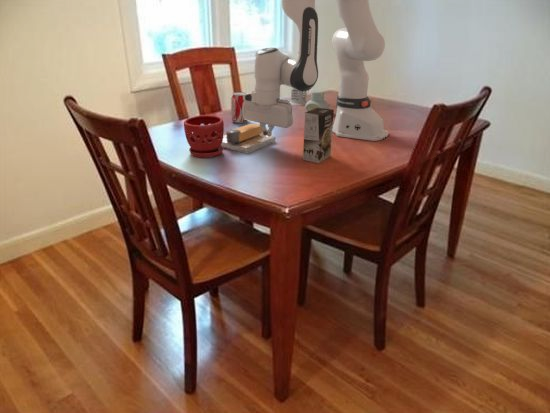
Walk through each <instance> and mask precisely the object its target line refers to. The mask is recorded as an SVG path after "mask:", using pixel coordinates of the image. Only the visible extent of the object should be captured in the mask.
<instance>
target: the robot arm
mask: <svg viewBox="0 0 550 413" xmlns="http://www.w3.org/2000/svg"><path fill="white" fill-rule="evenodd" d="M335 3H336V9H337V14H338V16H339V18H340V19H341V20H342V23H343V24H344V27H342V28H339V29H337V30H336V31H335V32H334V33H333V35H332V38H331V46H332V49H333V51H334V52H335V56H336V60H337V64H338V65H337V66H338V71H339V72H338V73H339V74H338V75H339V76H338V77H339V78H338V79H339V81H338V82H339V83H338V84H339V85H338V94H337V96H336V97H337V98H336V107H335V108H336V113H335V118H334V120H333V128H332V133H333V134H335V135H336V136H337V137H343V138H349V139H357V140H361V141H363V140H364V141H370V142H371V141H372V142H376V141H381V140H383V138H384V139H386V138H387V137H388V136H389V131H388V130H385V129H384V120H383V118H382V117H381V116H380V115H379V114H378V113H377V112H376V111H375V110H374V109H373V108H372V107H371V104H372V103H373V100H374V99H373V98H371V99H370V98H369V97H368V88H369V78H370V77H369V74H368V72H367V70H366V67H365V63H364V62H371V61H376V60H378V59H379V58H380V57H382V55H383V53H384V51H385V46H386V41H385V39H384V36H383V35H382V34H381V33H380V31H379V30H378V28H377V25H376V23H375V21H374V19H373V16H372V12H371V9H370V3H369V0H336V2H335ZM281 7H282V10H283V12H284V14H285V15H286V16H287V17H288V18H289V19H290V20H292V22H293V23H294V24H295V25H296V26H297V28H298V33H299V42H298V43H299V44H298V46H299V47H298V48H299V49H298V52H299V54H298V57H297V58H296V57H295V58H294V57H291V56H288V55H287V54H284V53H282V52H281V51H280V50H279V48H276V47H266V48H262V49H260V50H258V51H257V53H256V56H255V59H254V79H255V85H254V91H251V92H247V93H246V94H244V95H243V100H244V102H243V106H242V116H243V118H244V120H248V121H250V122H253V123H254V122H255V123H257V124H259V125H260V127H261V129H262V135H265V136H269V137H270V136H273V134H272V132H273V130H274V129H275V127H277V128H283V129H289V128H291V127H292V126H293V124H294V123H293V122H294V119H293V118H294V117H293V116H294V115H293V105H292V104H291V103H290V101H289V100H287V99H286V100H284V99H281V85H284V86H286V87H290V88H291V87H293V88H295V89H297V90H299V91H302V92H305V91H307V92H308V91H310V90H311V89H312V88H314V86H315V85H316V83H317V81H318V78H319V69H318V68H319V67H318V39H319V38H318V36H319V18H318V13H317V11H316V0H281ZM266 125H267V127H266ZM267 128H268V129H267ZM385 137H386V138H385Z"/></svg>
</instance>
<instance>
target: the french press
mask: <svg viewBox="0 0 550 413" xmlns="http://www.w3.org/2000/svg"><path fill="white" fill-rule="evenodd" d="M298 55H299V51H298ZM308 93H310V90H308V91H305V92H302V91H299V90H297V89H295V88H293V87H290V101H289V102H290V103H291V105H292V106H293V105H294V106H305V105H306V103H307V102H308V101H307V95H308Z"/></svg>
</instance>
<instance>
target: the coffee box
mask: <svg viewBox="0 0 550 413" xmlns="http://www.w3.org/2000/svg"><path fill="white" fill-rule="evenodd" d="M334 111H335V110H334V109H330V108H329V109H324V108H315V109H313V110H310V111H306V112H304V113H305V114H304V125H303V126H304V129H303V133H304V134H303V147H302V148H303V150H302V160H303V161H308V162H312V163H316V164H320V163H322V162H323V161H325V160H326V159H328V158H330V157H331V156H332V155H331V154H332V141H333V140H332V138H333V131H332V128H333V125H334Z"/></svg>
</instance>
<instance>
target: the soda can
mask: <svg viewBox="0 0 550 413" xmlns="http://www.w3.org/2000/svg"><path fill="white" fill-rule="evenodd" d="M244 94H247V93H246V92H241V91H240V92H232V95H231V98H230V99H231V100H230V101H231V102H230V103H231V104H230V105H231V107H230V109H231V120H232V122H234V123H236V124H245V123H247V122H248V121H249V120H244V118H243V116H242V106H243V102H244V100H243V95H244Z"/></svg>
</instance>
